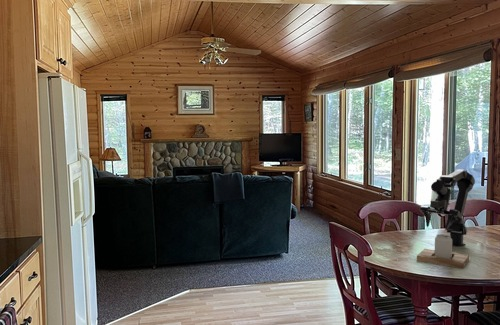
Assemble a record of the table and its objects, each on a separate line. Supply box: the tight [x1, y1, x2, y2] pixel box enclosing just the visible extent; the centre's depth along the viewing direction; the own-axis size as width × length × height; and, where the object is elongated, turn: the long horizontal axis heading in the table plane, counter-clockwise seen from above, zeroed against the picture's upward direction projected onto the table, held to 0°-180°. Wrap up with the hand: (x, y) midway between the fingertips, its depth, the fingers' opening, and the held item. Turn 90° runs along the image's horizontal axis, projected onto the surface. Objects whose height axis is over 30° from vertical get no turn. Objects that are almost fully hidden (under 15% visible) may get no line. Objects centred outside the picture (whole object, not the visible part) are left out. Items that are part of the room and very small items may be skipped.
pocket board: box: [416, 248, 470, 269], centre depth 199 cm, size 14×20×2 cm
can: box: [434, 233, 453, 259], centre depth 199 cm, size 8×8×12 cm
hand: (436, 228), depth 209 cm, fingers open, 9 cm apart
